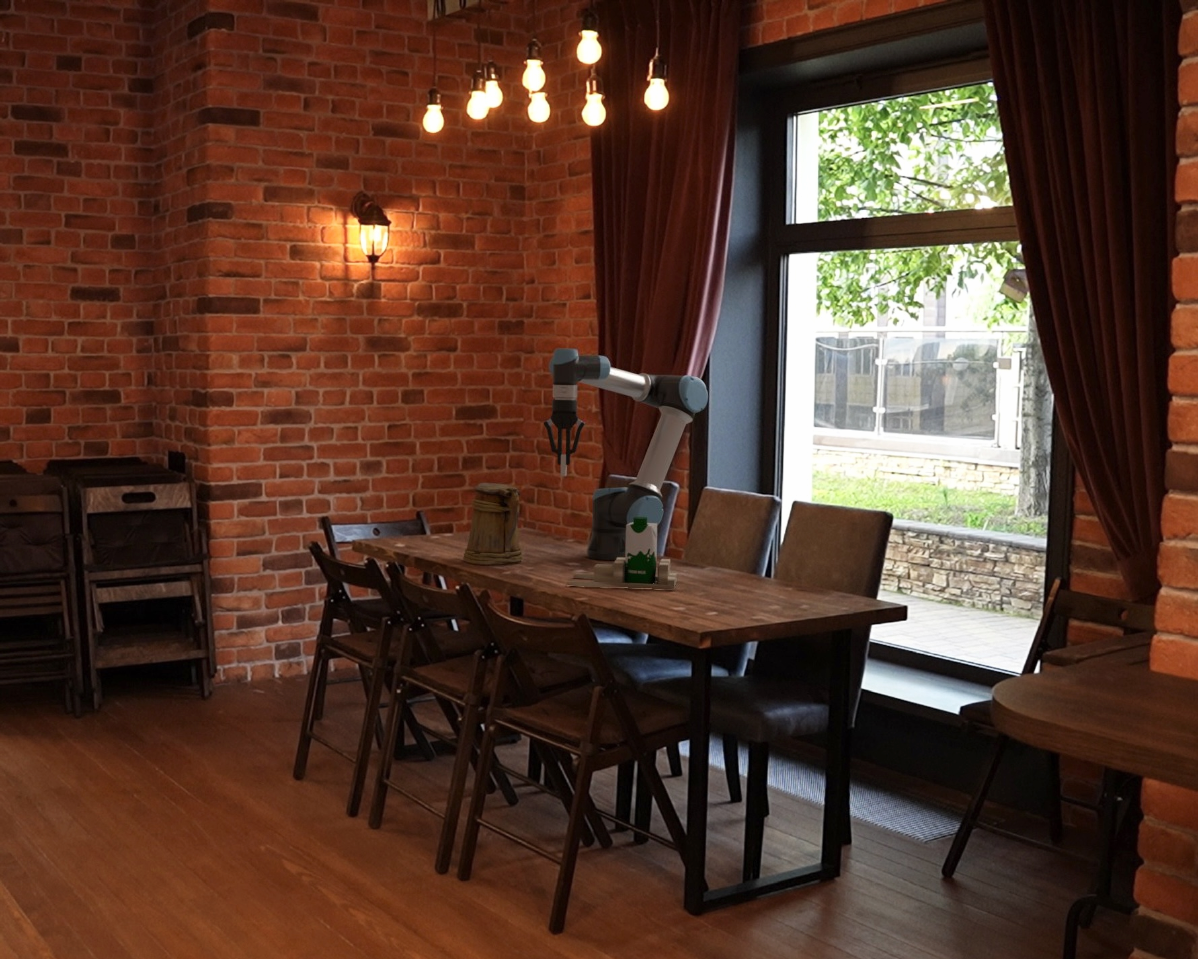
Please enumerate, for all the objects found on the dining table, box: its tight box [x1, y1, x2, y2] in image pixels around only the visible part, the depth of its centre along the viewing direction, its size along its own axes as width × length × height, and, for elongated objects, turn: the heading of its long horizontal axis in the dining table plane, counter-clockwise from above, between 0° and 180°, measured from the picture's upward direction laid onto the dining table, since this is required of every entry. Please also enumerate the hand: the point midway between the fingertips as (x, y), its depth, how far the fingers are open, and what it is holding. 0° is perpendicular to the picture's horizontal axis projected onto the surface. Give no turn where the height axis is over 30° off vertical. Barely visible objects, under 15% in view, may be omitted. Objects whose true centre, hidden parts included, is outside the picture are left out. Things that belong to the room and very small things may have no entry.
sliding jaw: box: [593, 557, 626, 583], centre depth 400 cm, size 12×9×7 cm
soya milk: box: [625, 517, 658, 584], centre depth 398 cm, size 9×9×20 cm
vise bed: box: [566, 558, 678, 590], centre depth 399 cm, size 16×31×7 cm, turn 84°
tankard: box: [462, 482, 523, 566], centre depth 434 cm, size 18×24×25 cm
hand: (563, 475), depth 421 cm, fingers closed
